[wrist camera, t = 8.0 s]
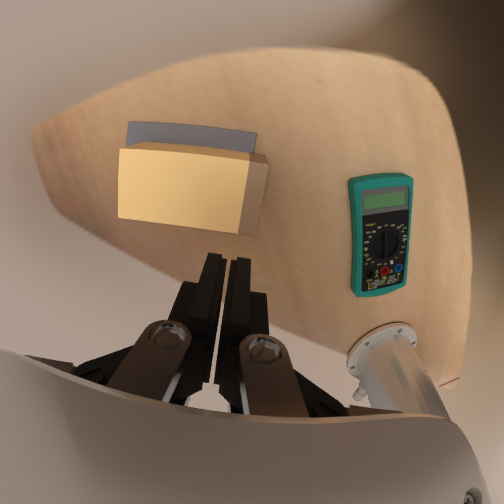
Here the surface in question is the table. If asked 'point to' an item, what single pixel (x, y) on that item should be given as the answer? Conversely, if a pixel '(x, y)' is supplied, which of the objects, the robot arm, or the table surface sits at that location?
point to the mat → (190, 136)
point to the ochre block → (192, 186)
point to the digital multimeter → (380, 232)
